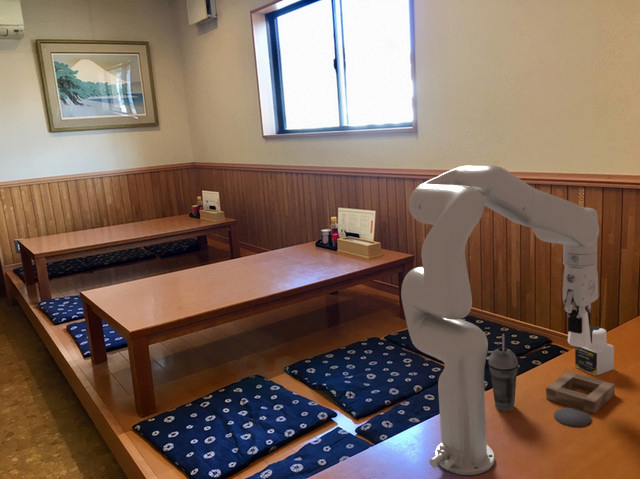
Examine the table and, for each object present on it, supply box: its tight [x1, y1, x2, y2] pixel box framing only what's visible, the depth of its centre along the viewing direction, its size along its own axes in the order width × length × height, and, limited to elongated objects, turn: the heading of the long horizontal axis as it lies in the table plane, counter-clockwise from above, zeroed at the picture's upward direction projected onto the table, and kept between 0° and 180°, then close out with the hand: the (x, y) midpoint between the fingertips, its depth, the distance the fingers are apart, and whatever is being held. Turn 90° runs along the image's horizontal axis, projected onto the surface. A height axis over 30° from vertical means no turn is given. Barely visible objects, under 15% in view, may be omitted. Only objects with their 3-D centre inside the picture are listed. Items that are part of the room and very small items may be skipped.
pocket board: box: [545, 371, 616, 414], centre depth 140 cm, size 12×12×3 cm
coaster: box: [554, 407, 592, 428], centre depth 131 cm, size 8×8×1 cm
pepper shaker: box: [567, 302, 591, 347], centre depth 136 cm, size 5×5×11 cm
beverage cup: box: [487, 333, 520, 412], centre depth 137 cm, size 7×7×20 cm
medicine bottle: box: [574, 325, 615, 376], centre depth 154 cm, size 7×7×12 cm
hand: (579, 328), depth 137 cm, fingers closed on pepper shaker, 3 cm apart
